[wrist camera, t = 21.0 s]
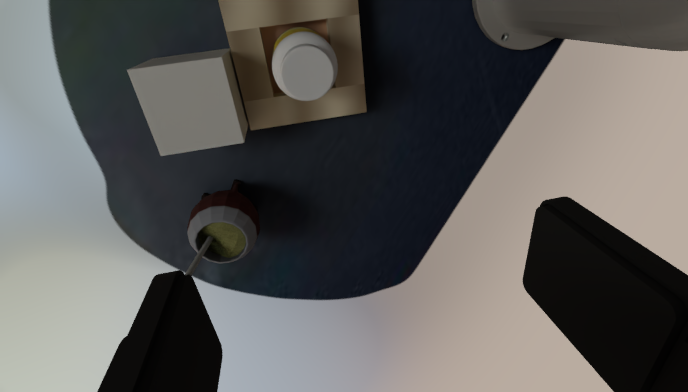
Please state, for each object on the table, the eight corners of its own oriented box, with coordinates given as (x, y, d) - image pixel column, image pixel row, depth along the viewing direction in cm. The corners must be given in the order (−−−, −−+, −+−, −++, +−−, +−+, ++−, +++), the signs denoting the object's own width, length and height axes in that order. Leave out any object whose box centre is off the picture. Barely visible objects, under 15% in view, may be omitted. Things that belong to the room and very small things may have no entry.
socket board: (351, -22, 32) (356, -23, 31) (362, 107, 38) (366, 112, 37) (220, -6, 31) (216, -6, 30) (252, 124, 37) (250, 130, 35)
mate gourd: (268, 185, 41) (265, 269, 28) (249, 239, 44) (238, 337, 31) (202, 166, 38) (164, 248, 25) (186, 224, 41) (145, 324, 28)
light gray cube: (230, 48, 33) (221, 56, 28) (249, 121, 37) (244, 142, 31) (152, 58, 33) (126, 69, 27) (179, 132, 36) (160, 156, 31)
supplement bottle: (262, 38, 33) (258, 50, 25) (315, 17, 33) (330, 21, 25) (285, 93, 36) (289, 120, 27) (335, 73, 36) (353, 94, 27)
